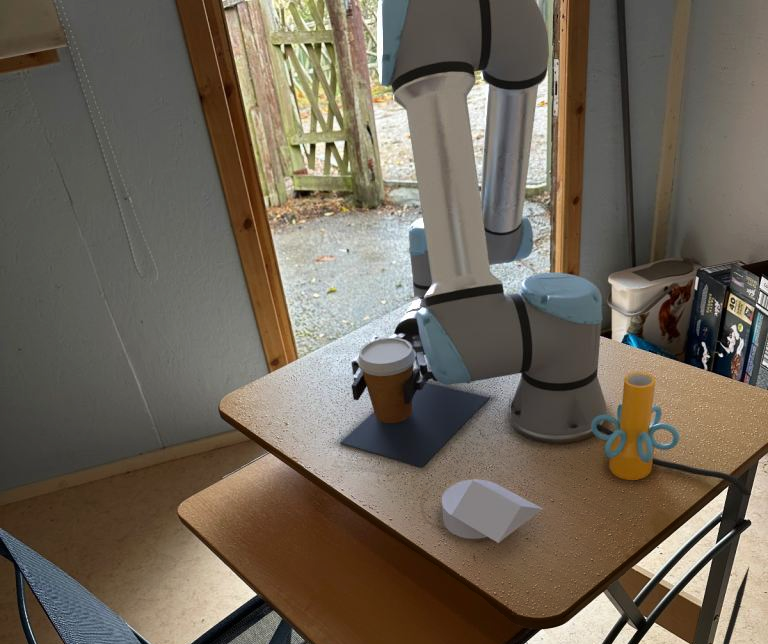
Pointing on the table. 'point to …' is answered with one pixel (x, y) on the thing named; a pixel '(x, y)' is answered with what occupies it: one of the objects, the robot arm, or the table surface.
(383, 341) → the disposable coffee cup
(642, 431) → the yellow tube with rings
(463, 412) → the mat
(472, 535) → the wedge on round base
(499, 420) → the table surface
